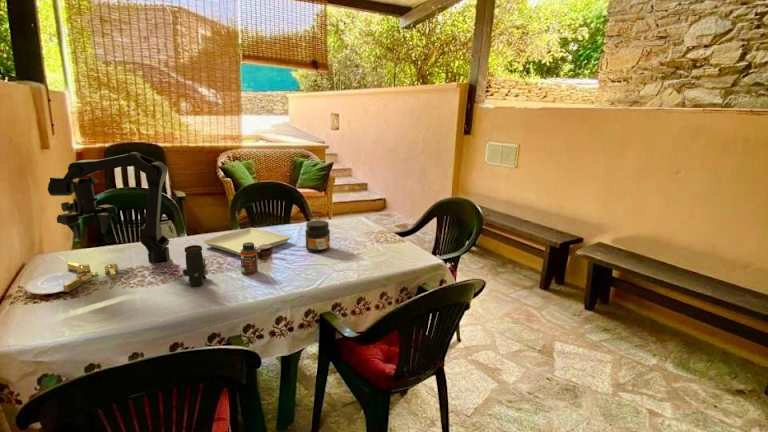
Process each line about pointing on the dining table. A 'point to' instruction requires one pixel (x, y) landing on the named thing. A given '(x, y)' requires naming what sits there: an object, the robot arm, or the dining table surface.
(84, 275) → the knob left
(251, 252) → the supplement bottle
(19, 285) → the dining table surface
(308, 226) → the supplement container
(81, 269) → the knob front
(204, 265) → the scope
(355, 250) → the dining table surface
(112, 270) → the knob near
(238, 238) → the square plate
